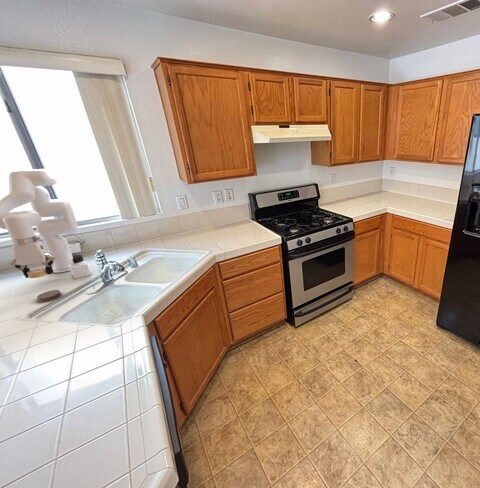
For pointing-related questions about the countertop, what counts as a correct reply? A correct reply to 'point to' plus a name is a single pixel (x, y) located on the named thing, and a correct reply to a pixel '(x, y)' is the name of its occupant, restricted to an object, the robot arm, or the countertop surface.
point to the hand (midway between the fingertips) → (39, 274)
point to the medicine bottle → (78, 266)
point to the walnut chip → (49, 295)
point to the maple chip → (37, 272)
